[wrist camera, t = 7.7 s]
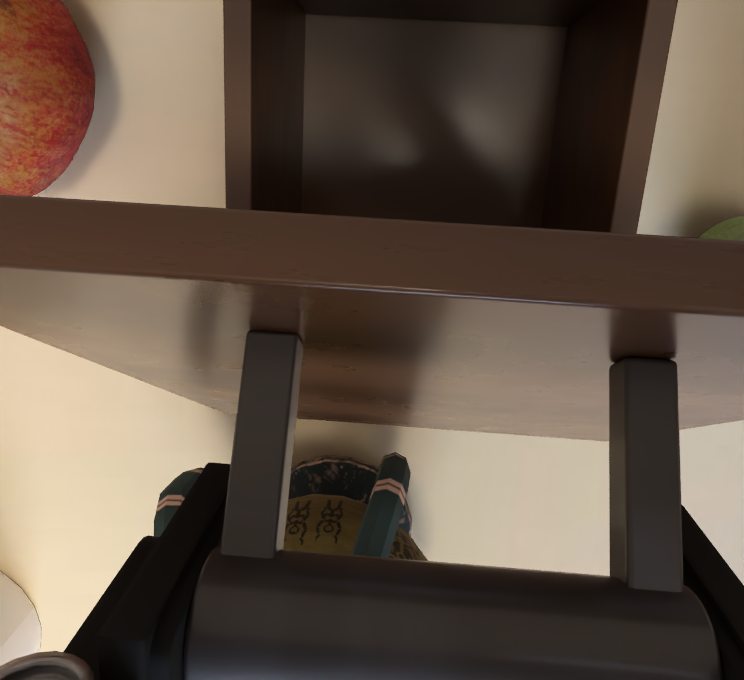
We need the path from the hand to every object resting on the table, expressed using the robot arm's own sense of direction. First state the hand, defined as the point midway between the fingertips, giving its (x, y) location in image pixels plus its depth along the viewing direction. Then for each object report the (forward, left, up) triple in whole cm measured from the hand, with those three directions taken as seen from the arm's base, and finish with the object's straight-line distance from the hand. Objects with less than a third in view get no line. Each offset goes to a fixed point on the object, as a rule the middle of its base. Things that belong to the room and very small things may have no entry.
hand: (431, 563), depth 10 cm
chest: (-5, 0, -24) cm, 24 cm away
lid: (-2, 0, -5) cm, 5 cm away
